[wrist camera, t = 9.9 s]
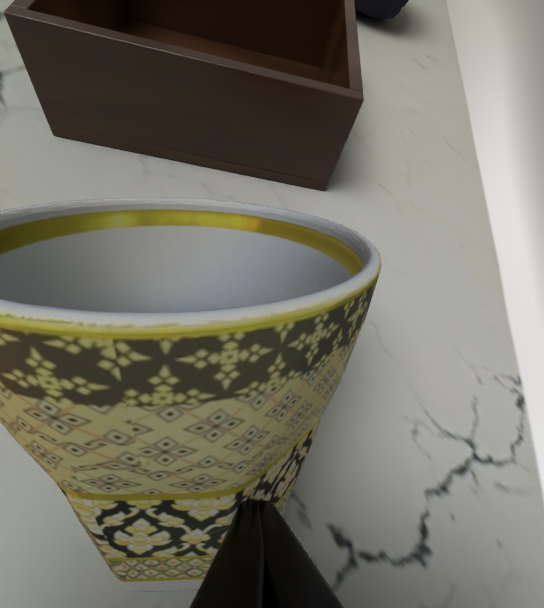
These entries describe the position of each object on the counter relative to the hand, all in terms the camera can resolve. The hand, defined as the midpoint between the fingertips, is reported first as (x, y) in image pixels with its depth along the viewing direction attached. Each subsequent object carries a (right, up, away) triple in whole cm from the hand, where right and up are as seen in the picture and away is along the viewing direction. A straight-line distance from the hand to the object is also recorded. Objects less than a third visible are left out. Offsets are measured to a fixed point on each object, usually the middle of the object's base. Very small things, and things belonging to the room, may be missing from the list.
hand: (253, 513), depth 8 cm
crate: (-4, +21, +20) cm, 29 cm away
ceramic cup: (-2, -2, +6) cm, 6 cm away
